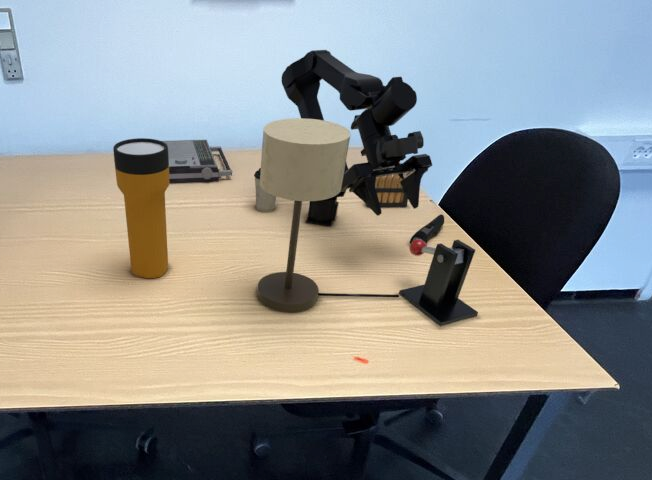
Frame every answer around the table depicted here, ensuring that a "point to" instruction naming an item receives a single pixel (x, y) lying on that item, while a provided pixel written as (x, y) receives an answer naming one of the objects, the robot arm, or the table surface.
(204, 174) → the radio
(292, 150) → the desk lamp
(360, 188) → the robot arm
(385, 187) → the ammunition clip
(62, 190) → the table surface
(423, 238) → the electric trimmer
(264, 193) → the coffee cup
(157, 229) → the flashlight
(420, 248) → the lever
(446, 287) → the switch bracket
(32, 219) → the table surface
